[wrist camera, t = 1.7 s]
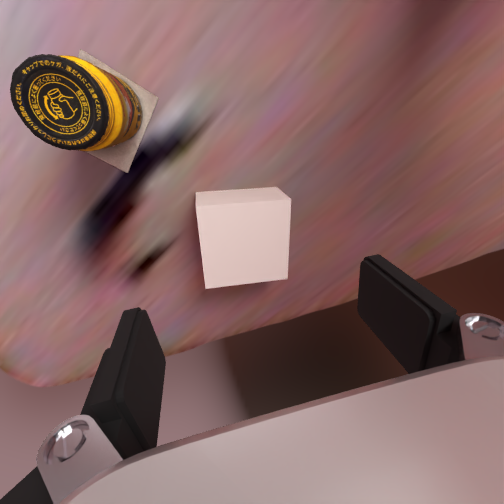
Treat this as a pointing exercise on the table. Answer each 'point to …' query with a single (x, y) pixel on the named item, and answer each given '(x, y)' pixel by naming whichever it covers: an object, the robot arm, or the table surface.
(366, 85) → the table surface
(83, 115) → the condiment
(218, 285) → the cream block
